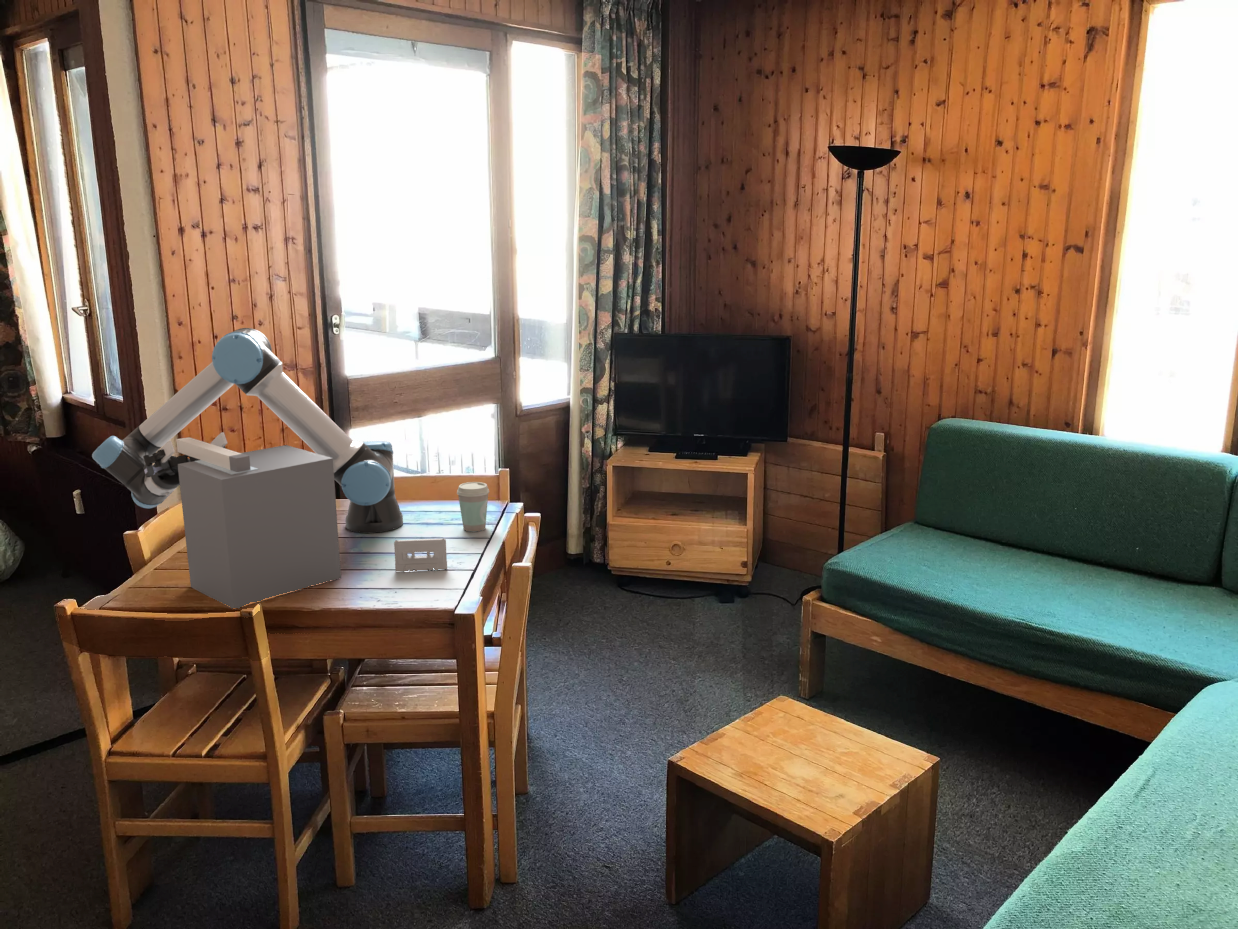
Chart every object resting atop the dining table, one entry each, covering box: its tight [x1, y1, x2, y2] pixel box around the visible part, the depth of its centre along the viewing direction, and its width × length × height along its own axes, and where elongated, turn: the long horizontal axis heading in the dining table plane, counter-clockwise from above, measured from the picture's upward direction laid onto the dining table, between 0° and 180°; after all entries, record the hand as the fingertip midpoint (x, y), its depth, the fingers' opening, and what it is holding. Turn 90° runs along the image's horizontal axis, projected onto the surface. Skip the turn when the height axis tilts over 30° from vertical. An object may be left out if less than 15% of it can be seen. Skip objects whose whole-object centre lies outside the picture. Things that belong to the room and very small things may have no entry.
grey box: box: [178, 444, 342, 609], centre depth 224 cm, size 20×26×29 cm
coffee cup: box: [456, 481, 490, 532], centre depth 266 cm, size 9×8×12 cm
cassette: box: [393, 538, 448, 572], centre depth 235 cm, size 12×2×8 cm, turn 97°
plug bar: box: [176, 436, 251, 472], centre depth 220 cm, size 28×3×3 cm, turn 48°
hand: (198, 442), depth 224 cm, fingers open, 11 cm apart
